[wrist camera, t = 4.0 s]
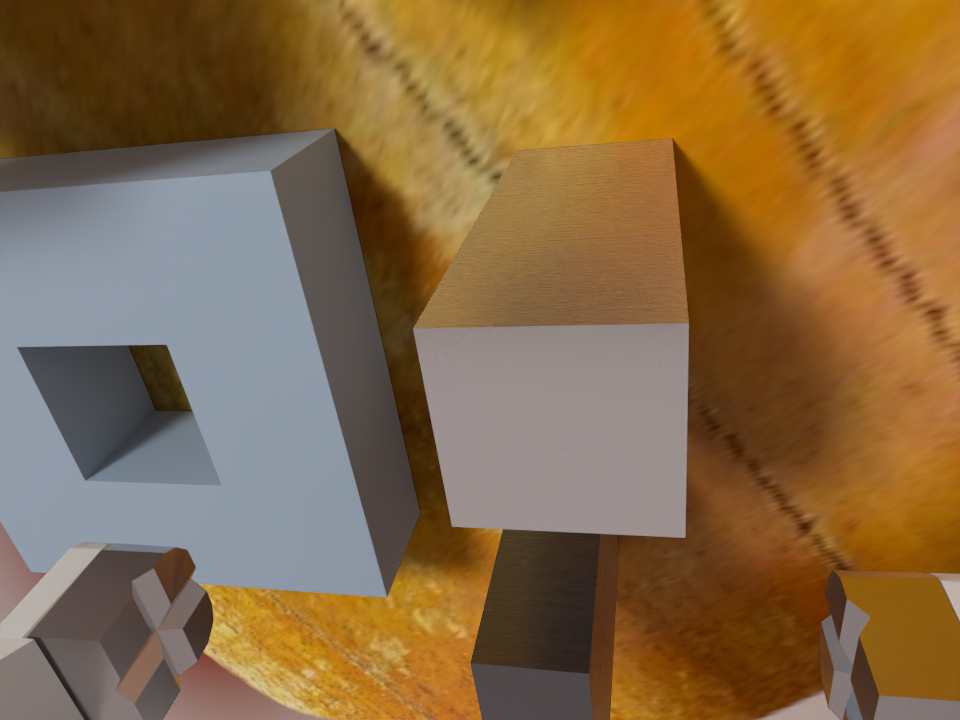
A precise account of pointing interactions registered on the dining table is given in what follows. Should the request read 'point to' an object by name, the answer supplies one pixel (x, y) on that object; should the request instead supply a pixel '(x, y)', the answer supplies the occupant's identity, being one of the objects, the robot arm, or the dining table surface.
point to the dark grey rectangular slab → (548, 628)
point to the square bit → (565, 348)
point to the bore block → (199, 364)
